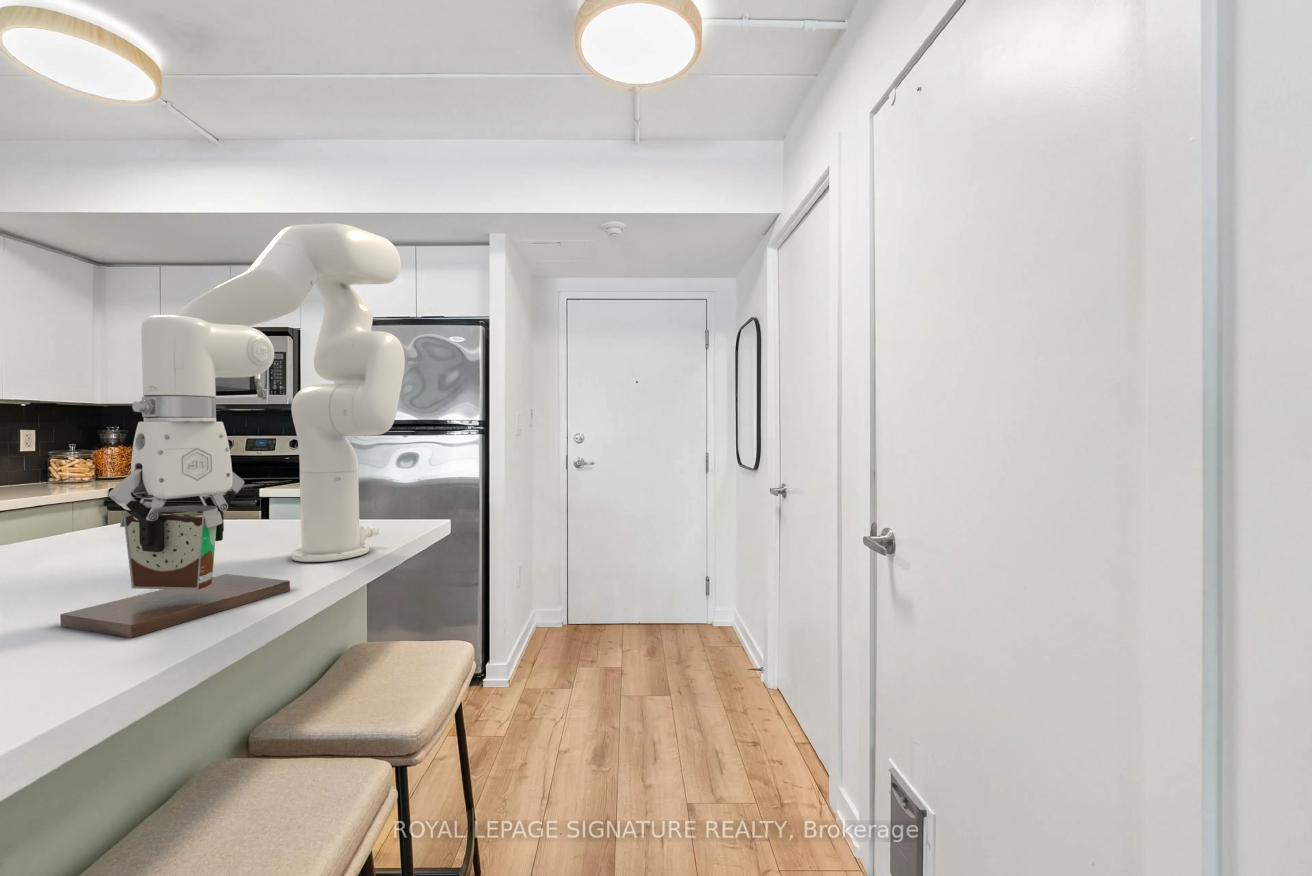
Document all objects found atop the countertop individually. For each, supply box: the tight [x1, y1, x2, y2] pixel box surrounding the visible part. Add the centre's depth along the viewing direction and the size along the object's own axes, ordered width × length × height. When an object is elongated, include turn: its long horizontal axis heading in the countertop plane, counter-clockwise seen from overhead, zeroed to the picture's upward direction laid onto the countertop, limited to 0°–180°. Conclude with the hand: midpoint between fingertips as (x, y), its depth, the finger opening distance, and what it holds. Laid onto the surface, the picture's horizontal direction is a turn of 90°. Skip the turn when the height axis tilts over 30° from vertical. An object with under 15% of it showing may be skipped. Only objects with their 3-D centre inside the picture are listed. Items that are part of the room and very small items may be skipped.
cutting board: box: [59, 573, 291, 638], centre depth 79 cm, size 20×13×2 cm, turn 161°
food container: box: [119, 505, 223, 590], centre depth 79 cm, size 12×6×10 cm, turn 84°
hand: (184, 544), depth 79 cm, fingers closed on food container, 6 cm apart
